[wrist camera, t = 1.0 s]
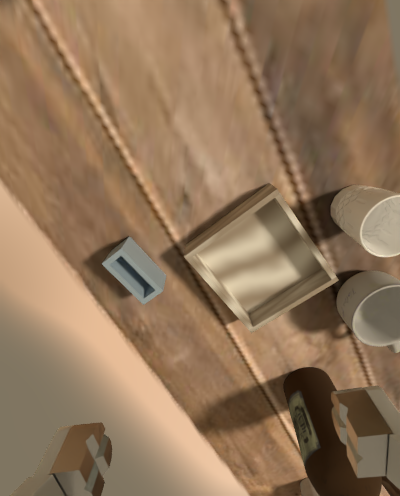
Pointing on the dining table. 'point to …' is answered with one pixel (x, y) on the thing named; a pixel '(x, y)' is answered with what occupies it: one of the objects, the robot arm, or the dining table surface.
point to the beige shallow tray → (260, 259)
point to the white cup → (369, 218)
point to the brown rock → (390, 487)
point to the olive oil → (323, 437)
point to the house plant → (307, 488)
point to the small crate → (135, 270)
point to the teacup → (372, 308)
